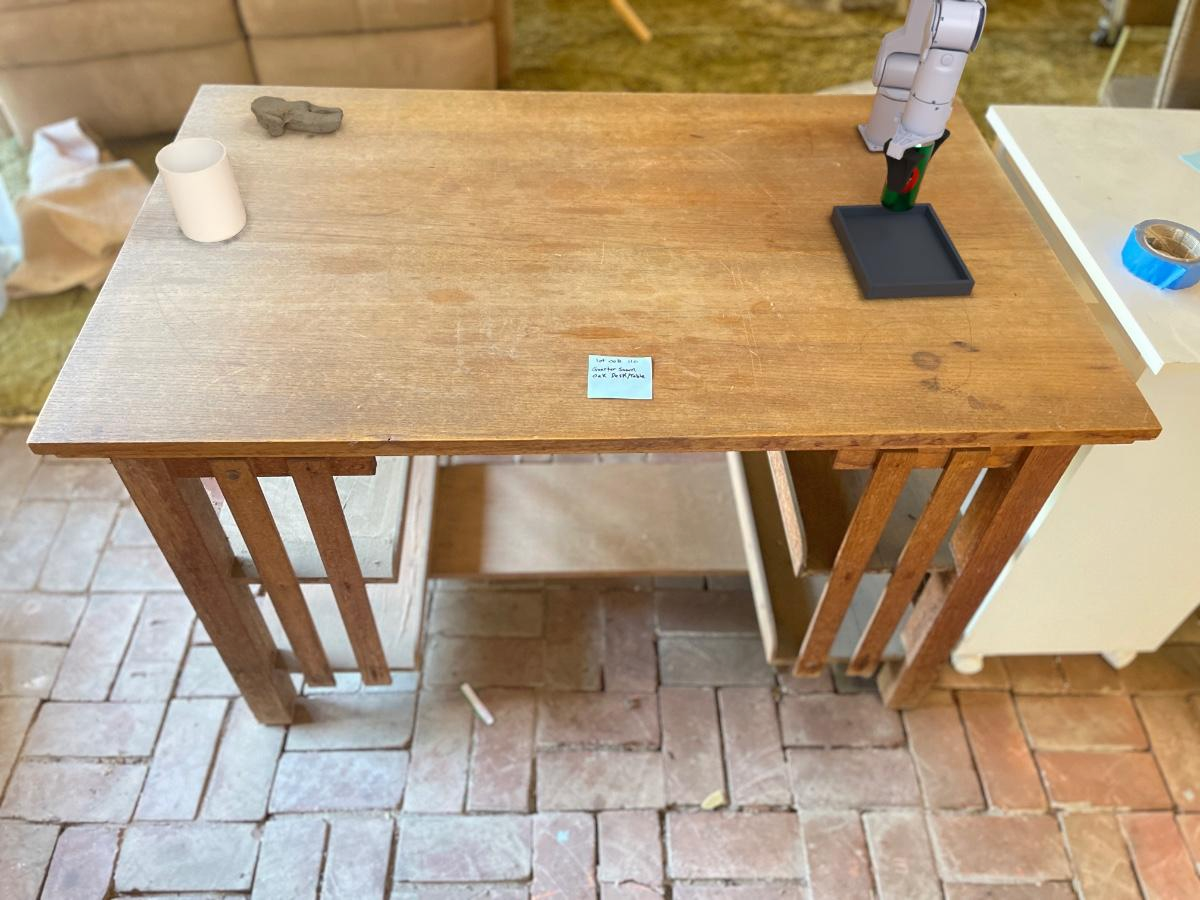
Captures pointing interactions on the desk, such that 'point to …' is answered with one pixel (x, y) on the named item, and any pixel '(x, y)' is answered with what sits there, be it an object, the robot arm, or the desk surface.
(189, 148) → the mug
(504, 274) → the desk surface
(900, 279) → the dark grey tray
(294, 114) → the sculpture
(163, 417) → the desk surface
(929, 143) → the soda can
